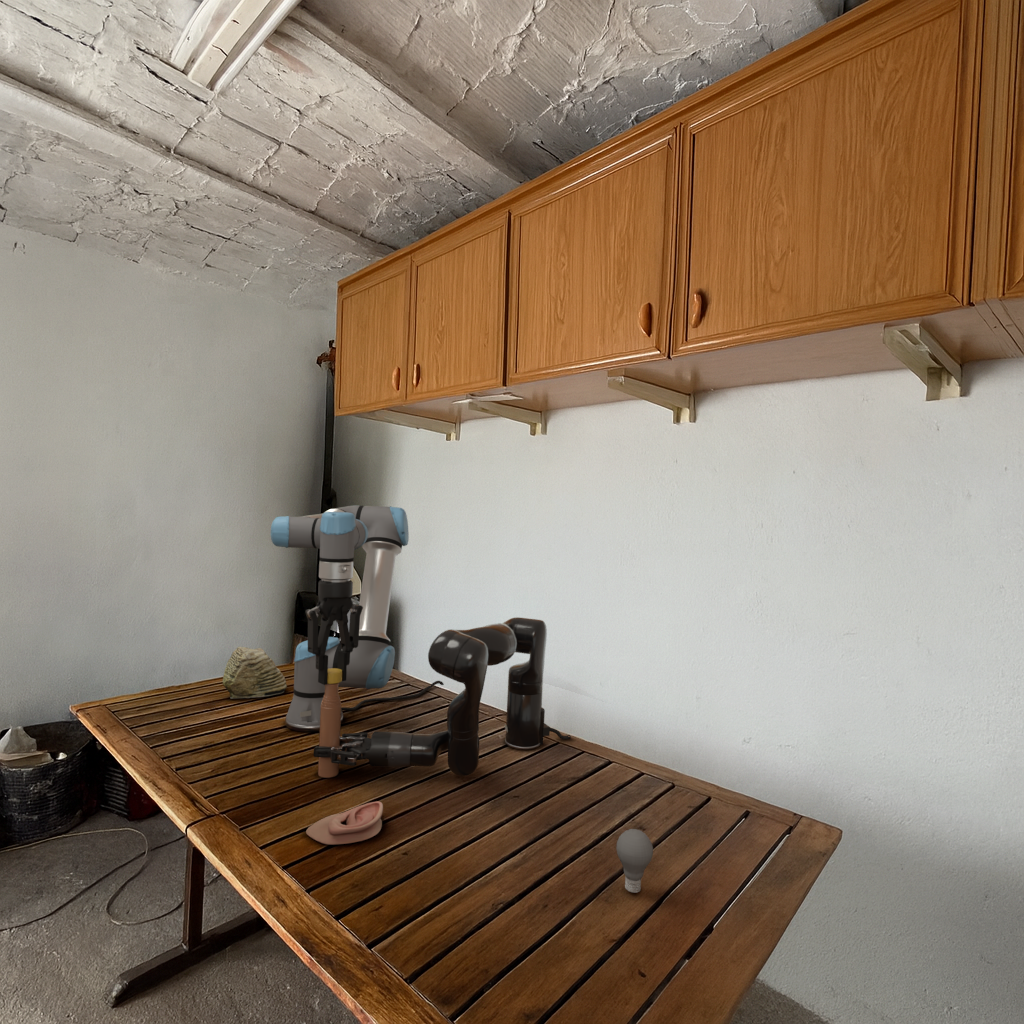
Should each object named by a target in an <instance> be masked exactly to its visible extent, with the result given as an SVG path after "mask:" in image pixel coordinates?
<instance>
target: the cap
mask: <svg viewBox="0 0 1024 1024" xmlns="http://www.w3.org/2000/svg"><path fill="white" fill-rule="evenodd" d="M341 681H342V670H341V669H337V668H330V669H328V675H327V684H335V683H339V682H341Z"/></svg>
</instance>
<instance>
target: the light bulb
mask: <svg viewBox="0 0 1024 1024" xmlns="http://www.w3.org/2000/svg"><path fill="white" fill-rule="evenodd" d="M615 849H616V854H617V857H618V859H619V861H620V863H621V865H622V867H623V873H624V874H623V875H624V876H625V878H624V888H625V890H627V891H628V892H630V893H634V894H635V893H639V892H640V891H641V889H642V887H641V886H642V879H643V877H644V875H645V871H646V868H647V867H648V866H649V864H650V863H651V861H652V859H653V855H654V847H653V843H652V841H651V838H649V836H648V835H647V834H646V833H645V832H643V831H642V830H641V829H636V828H629V829H627V830H625V831H623V832H622V833H621V834H620V835H619V837H618V839H617V841H616V847H615Z"/></svg>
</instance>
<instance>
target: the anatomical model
mask: <svg viewBox="0 0 1024 1024" xmlns="http://www.w3.org/2000/svg"><path fill="white" fill-rule="evenodd" d="M383 813H384V804H383V803H382V802H381V801H377V800H376V801H371V802H367V803H364V804H361V805H358V806H355V807H353V808H351V809H349V810H346V811H344V812H341V813H336V814H331V815H328V816H326V817H323V818H321V819H319V820H318V821H315V823H313V824H311V825H310V826H309V827H307V829H306V831H305V833H306V835H307V836H308V837H310V838H311V839H313V840H315V841H317V842H318V843H321V844H323V845H333V846H335V845H344V844H345V845H346V844H352V843H357V842H363V841H365V840H368V839H371V838H373V837H374V836H376V835H378V834H379V833H380V832H381V829H382V827H383V821H382V815H383Z"/></svg>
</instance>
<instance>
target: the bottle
mask: <svg viewBox="0 0 1024 1024" xmlns="http://www.w3.org/2000/svg"><path fill="white" fill-rule="evenodd" d="M339 688H340V687H339V683H335V684H327V685H325V695H324V696H323V700H322V702H321V709H320V731H319V736H318V738H319V739H318V746H326V747H336V746H340V736H341V726H342V723H341V707H342V701H341V697H340V694H339ZM339 751H341V750H339ZM317 769H318V770H317V775H318V776H319V777H321V778H323V779H324V778H327V779H328V778H334V777H336V776H338V775H339V773H340V764H337V763H332V762H331V759H330V758H328V757H318V763H317Z"/></svg>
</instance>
